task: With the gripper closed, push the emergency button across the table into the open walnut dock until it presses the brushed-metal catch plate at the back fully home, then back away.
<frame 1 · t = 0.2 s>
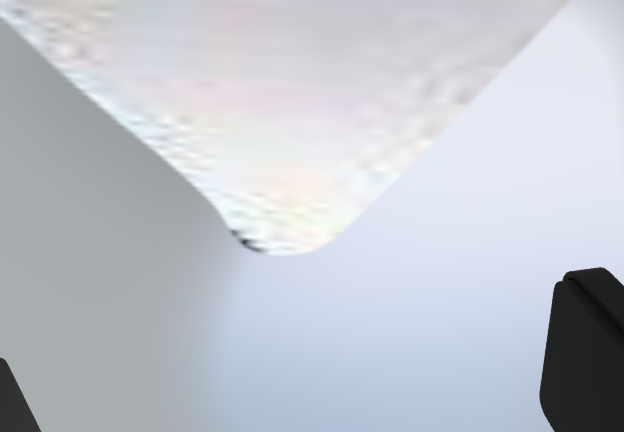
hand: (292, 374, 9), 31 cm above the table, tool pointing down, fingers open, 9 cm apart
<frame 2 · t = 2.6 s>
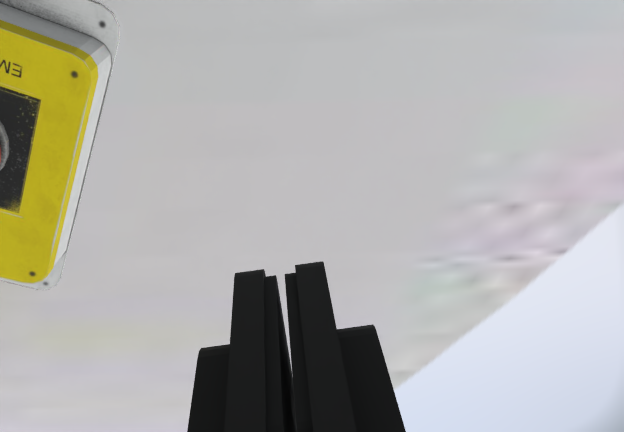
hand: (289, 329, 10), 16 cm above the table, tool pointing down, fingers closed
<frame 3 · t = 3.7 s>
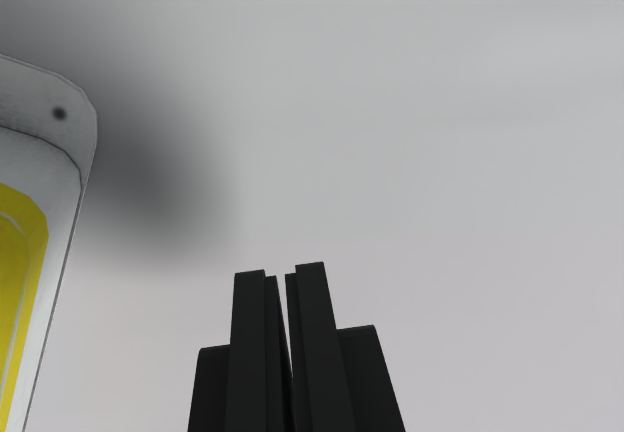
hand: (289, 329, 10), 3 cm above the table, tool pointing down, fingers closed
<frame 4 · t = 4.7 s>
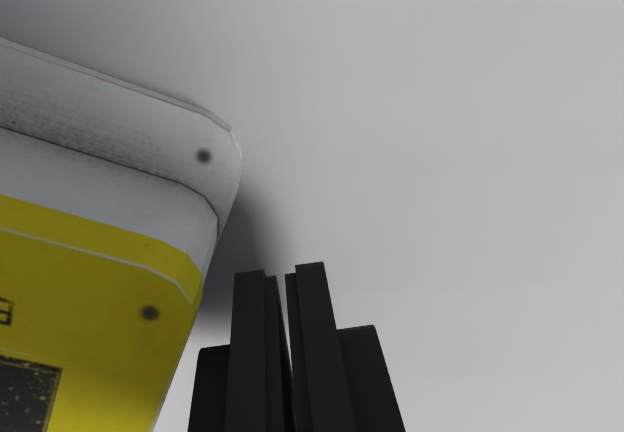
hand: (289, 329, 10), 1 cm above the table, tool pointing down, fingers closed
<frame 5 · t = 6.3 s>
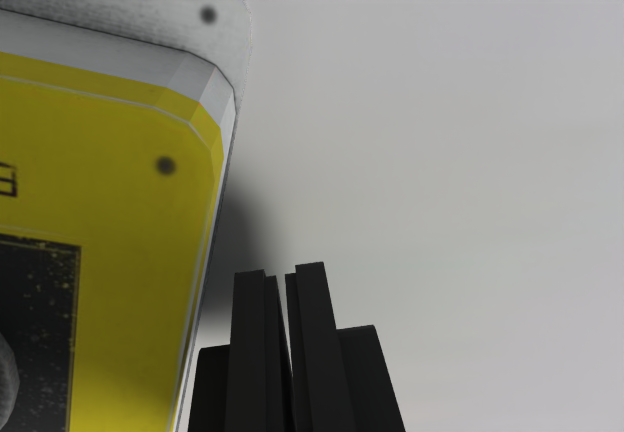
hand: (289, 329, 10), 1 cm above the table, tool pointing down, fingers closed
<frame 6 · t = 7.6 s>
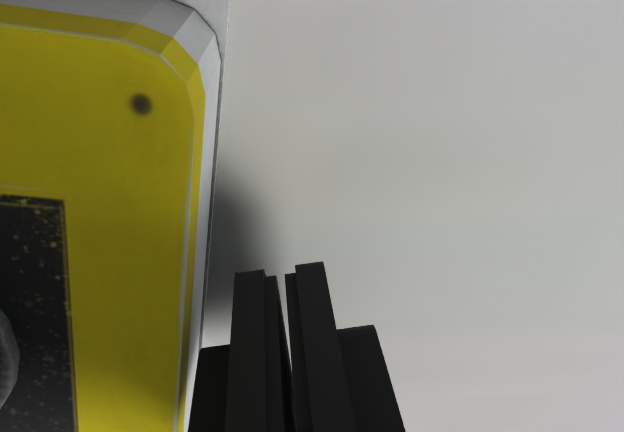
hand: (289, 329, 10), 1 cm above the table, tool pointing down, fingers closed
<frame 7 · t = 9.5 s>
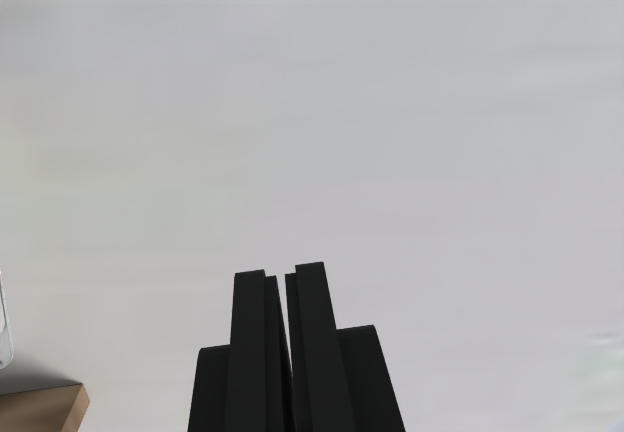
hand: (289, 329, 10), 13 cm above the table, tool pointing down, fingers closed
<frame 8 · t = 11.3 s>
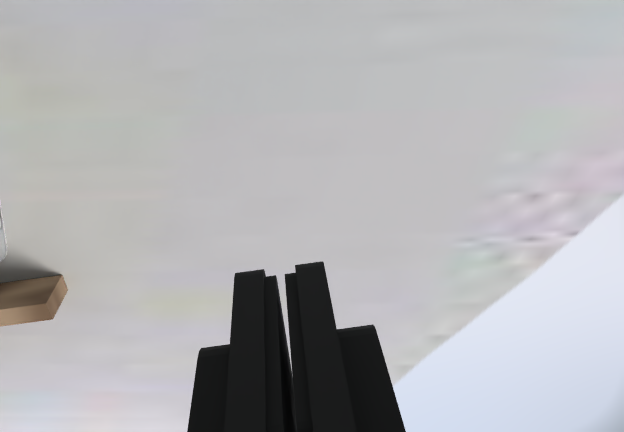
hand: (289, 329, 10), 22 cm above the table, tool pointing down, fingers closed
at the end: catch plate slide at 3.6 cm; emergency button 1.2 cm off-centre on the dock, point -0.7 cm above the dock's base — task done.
